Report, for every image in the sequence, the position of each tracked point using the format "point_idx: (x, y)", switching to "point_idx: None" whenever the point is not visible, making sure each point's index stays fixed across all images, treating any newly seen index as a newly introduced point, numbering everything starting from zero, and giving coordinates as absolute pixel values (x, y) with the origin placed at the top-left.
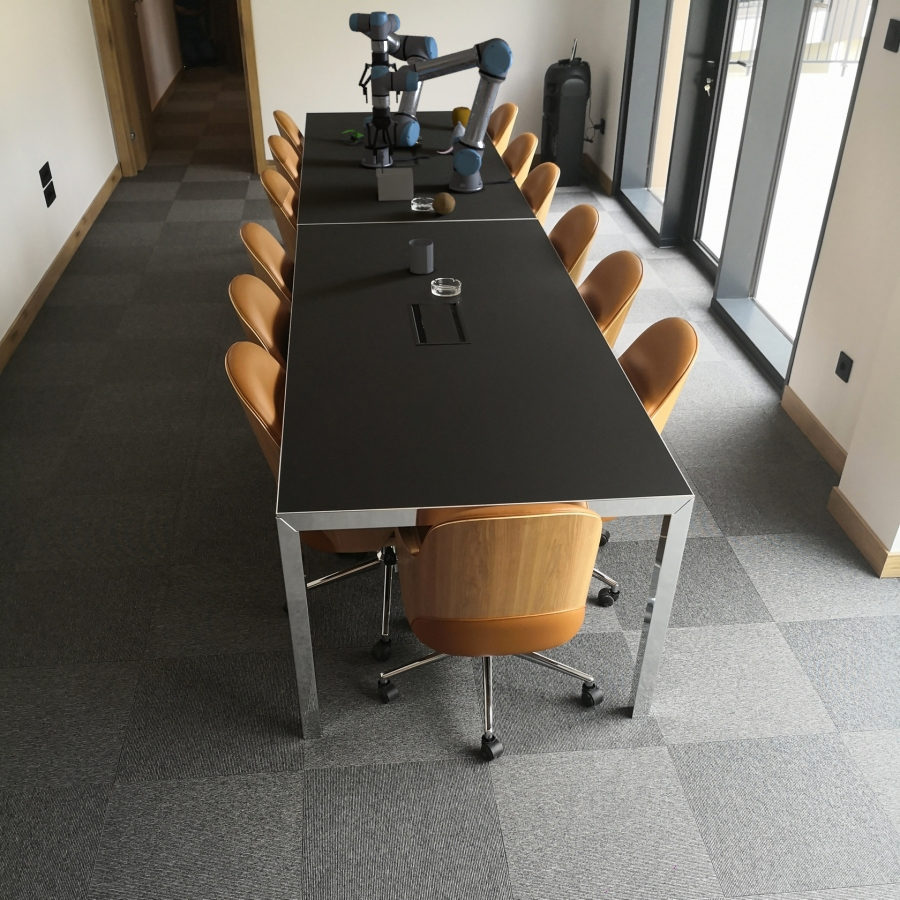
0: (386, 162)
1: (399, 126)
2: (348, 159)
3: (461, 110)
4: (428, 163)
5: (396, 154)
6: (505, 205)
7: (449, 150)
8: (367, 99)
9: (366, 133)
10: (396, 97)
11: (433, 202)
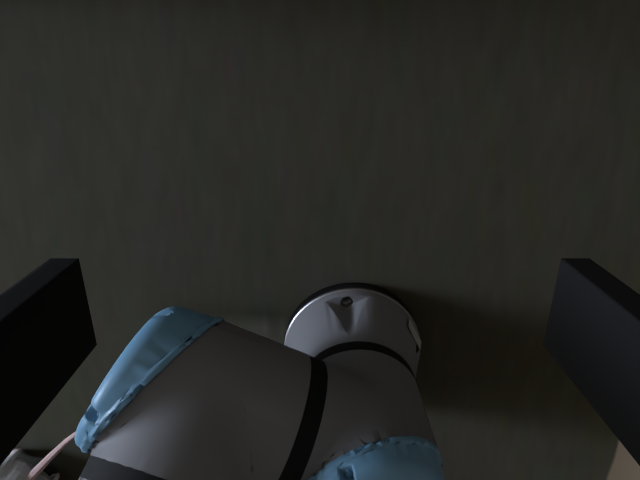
0: (311, 308)
1: (203, 386)
2: (465, 422)
3: None
4: None
5: None
6: None
7: (47, 456)
8: (597, 287)
9: (421, 415)
10: (19, 303)
11: None
